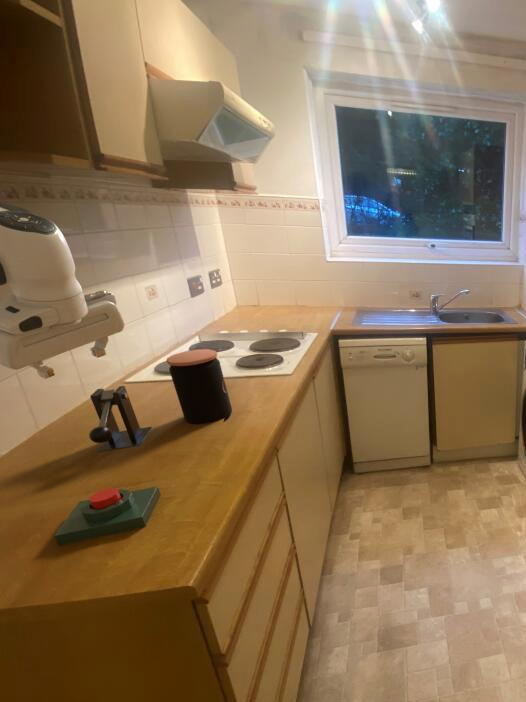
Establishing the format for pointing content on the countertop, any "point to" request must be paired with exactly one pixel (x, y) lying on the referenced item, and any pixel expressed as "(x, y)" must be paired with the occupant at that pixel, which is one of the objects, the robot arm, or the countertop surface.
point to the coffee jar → (200, 386)
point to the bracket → (133, 431)
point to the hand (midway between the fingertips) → (74, 365)
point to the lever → (104, 419)
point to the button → (105, 498)
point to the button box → (109, 516)
